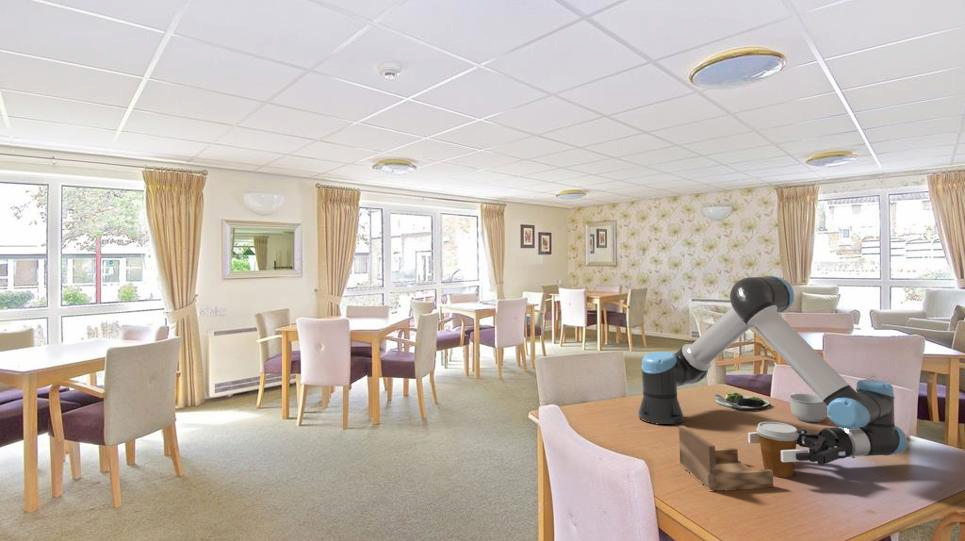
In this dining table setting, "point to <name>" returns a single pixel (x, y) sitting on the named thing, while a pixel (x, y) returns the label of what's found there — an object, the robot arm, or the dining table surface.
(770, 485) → the cradle
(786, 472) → the disposable coffee cup
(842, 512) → the dining table surface
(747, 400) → the salad plate
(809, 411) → the teacup
